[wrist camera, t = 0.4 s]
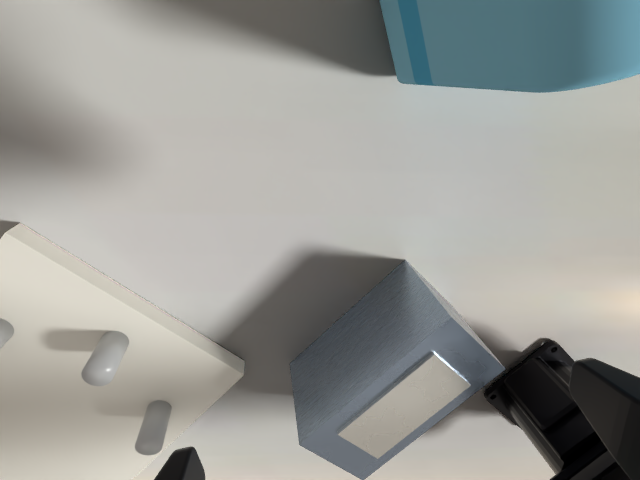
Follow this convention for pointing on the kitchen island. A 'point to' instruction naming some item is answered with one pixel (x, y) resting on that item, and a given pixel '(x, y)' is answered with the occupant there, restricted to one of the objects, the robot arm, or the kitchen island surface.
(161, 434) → the cream pegged board
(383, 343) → the block
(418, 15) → the light blue box
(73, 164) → the kitchen island surface
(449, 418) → the kitchen island surface
